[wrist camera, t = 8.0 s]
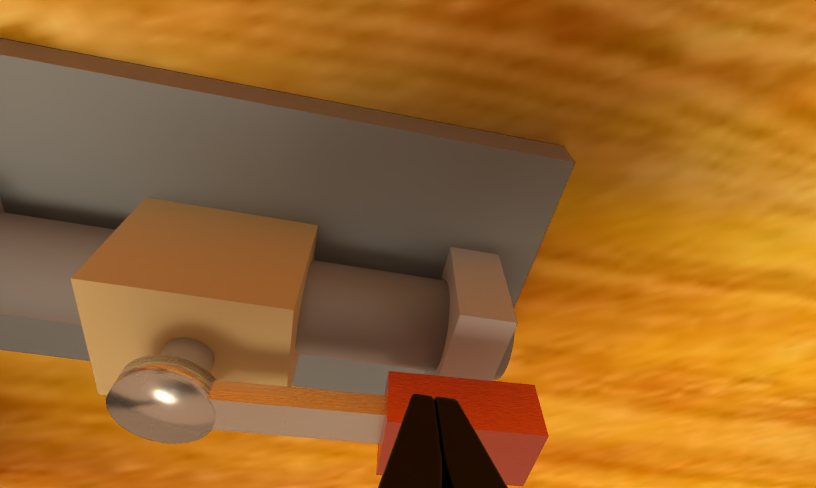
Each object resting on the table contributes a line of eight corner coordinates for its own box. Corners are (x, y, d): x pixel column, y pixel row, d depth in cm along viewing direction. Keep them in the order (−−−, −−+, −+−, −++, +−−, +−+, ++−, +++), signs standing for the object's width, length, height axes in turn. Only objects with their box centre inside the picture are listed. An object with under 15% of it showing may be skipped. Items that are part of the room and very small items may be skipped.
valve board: (468, 385, 26) (488, 532, 20) (-10, 322, 24) (-161, 471, 17) (563, 146, 19) (645, 263, 12) (-127, 13, 16) (-476, 76, 10)
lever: (134, 405, 16) (106, 457, 14) (118, 339, 14) (83, 390, 13) (510, 438, 17) (521, 489, 15) (536, 380, 15) (550, 431, 14)
